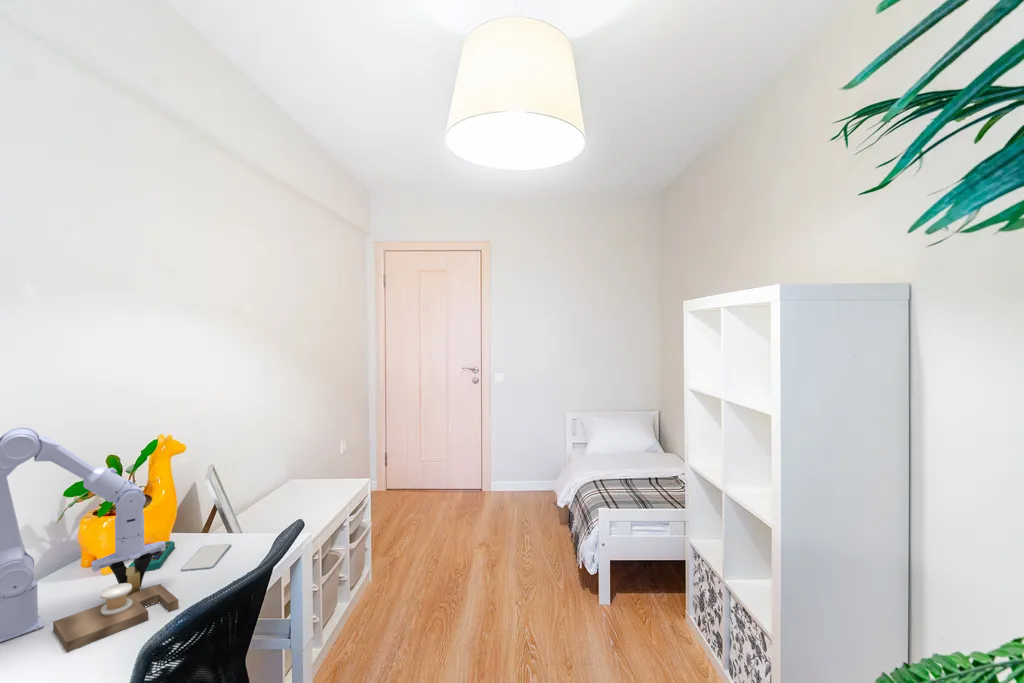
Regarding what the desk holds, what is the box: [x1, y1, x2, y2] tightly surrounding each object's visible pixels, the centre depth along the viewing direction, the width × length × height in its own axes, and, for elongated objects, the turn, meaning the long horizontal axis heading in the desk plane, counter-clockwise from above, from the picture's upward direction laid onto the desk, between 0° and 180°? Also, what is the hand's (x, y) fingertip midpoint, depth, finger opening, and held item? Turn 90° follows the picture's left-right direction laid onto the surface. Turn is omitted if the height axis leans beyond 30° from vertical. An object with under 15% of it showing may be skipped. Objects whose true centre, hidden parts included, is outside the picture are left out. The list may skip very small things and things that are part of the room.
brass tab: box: [126, 566, 141, 595], centre depth 121 cm, size 2×5×6 cm, turn 53°
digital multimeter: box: [128, 540, 176, 572], centre depth 140 cm, size 7×15×3 cm, turn 20°
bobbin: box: [100, 583, 132, 616], centre depth 112 cm, size 6×6×4 cm
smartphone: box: [180, 543, 232, 572], centre depth 142 cm, size 8×1×15 cm
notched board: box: [52, 583, 180, 652], centre depth 112 cm, size 20×12×2 cm, turn 143°
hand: (130, 588), depth 122 cm, fingers closed on brass tab, 2 cm apart
